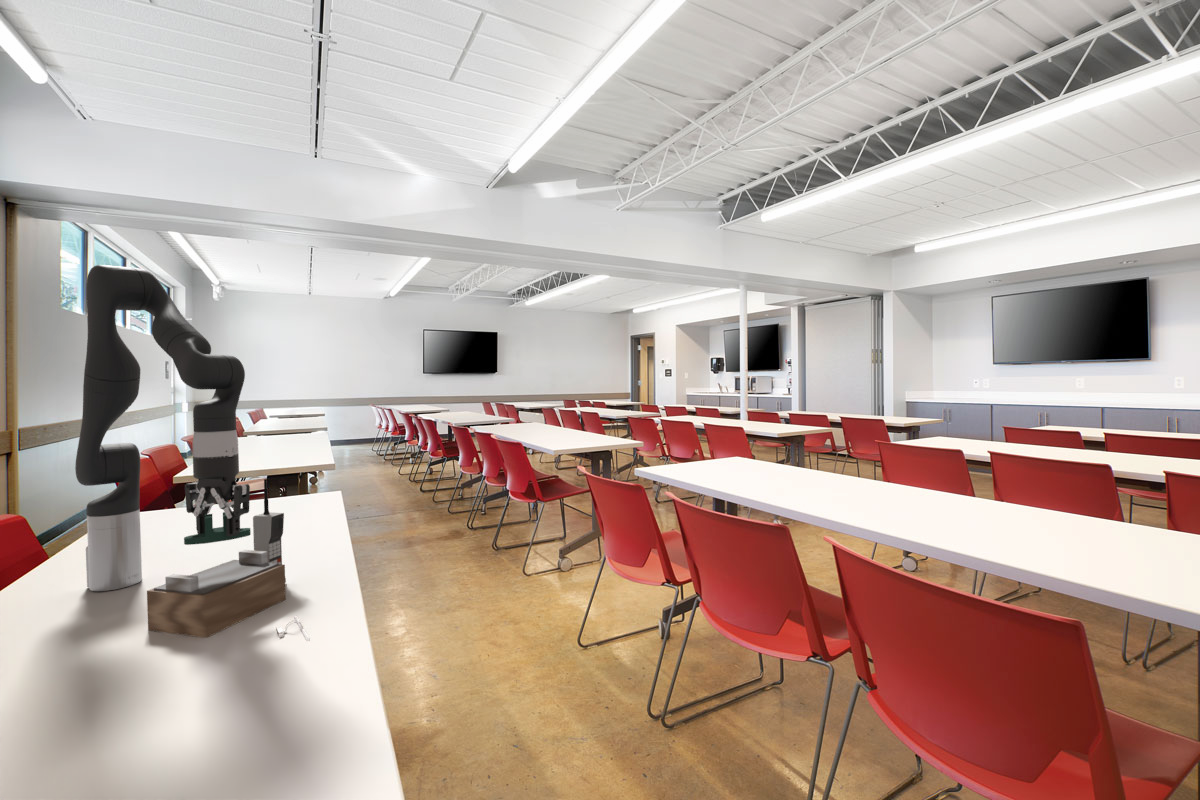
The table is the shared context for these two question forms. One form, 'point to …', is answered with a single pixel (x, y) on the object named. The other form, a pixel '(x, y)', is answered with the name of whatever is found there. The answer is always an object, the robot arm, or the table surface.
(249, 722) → the table surface
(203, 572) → the tray
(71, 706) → the table surface
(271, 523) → the vintage mobile phone
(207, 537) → the mount
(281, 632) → the picture light
